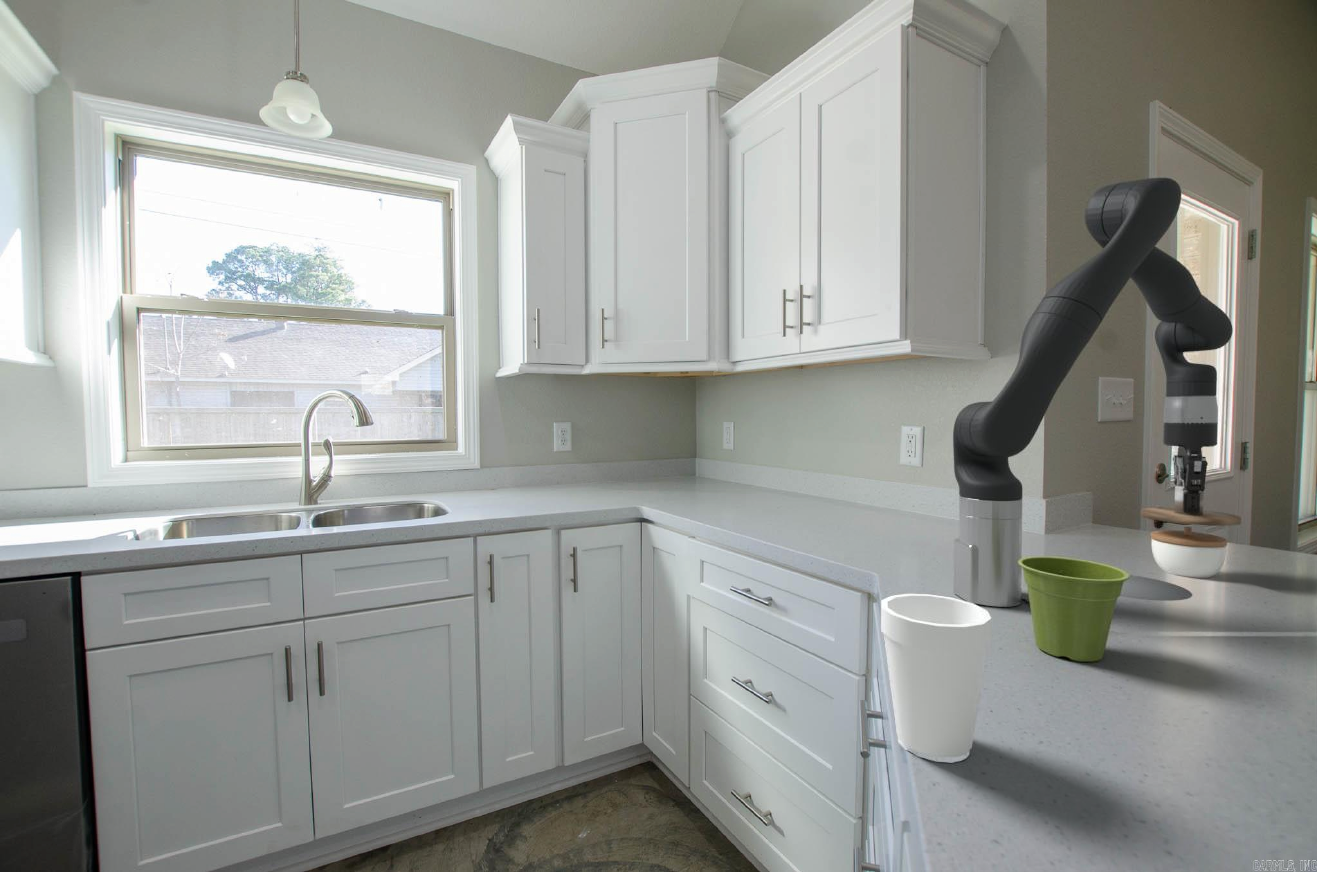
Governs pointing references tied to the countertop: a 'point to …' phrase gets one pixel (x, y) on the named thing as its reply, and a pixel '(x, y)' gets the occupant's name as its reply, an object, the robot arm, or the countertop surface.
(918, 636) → the foam cup
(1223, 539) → the lidded jar
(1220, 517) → the walnut lid
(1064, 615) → the plant pot
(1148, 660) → the countertop surface
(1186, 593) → the rubber mat
